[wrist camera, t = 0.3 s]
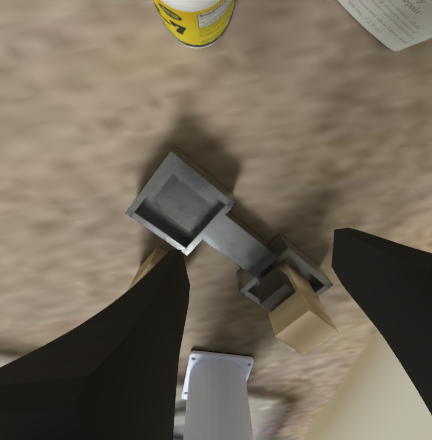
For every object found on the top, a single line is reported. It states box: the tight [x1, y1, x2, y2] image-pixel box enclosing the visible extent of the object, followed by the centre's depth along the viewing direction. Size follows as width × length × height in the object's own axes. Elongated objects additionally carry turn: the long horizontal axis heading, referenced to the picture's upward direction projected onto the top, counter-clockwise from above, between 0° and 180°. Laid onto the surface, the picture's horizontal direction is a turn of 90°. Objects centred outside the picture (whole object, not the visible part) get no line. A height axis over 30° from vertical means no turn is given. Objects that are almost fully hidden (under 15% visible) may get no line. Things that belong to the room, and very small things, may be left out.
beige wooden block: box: [129, 247, 190, 290], centre depth 20 cm, size 4×3×6 cm
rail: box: [125, 147, 333, 310], centre depth 20 cm, size 18×6×3 cm, turn 50°
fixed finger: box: [256, 260, 338, 355], centre depth 18 cm, size 4×3×6 cm
